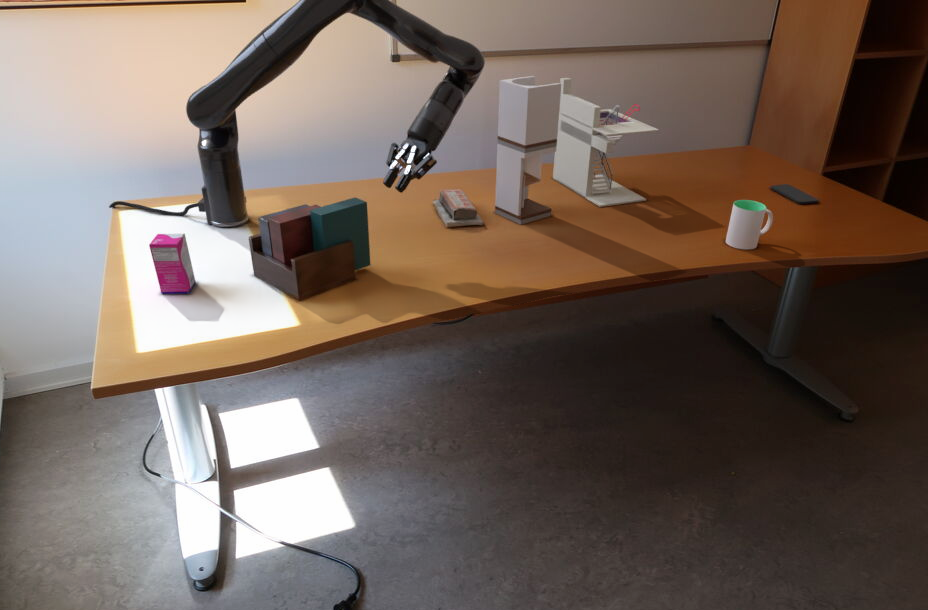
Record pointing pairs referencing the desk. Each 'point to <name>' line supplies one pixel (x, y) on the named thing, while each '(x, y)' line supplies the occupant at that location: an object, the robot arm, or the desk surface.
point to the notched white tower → (524, 144)
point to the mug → (747, 224)
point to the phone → (794, 194)
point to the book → (343, 228)
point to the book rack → (298, 255)
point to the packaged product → (456, 209)
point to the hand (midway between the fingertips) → (392, 187)
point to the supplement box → (172, 263)
